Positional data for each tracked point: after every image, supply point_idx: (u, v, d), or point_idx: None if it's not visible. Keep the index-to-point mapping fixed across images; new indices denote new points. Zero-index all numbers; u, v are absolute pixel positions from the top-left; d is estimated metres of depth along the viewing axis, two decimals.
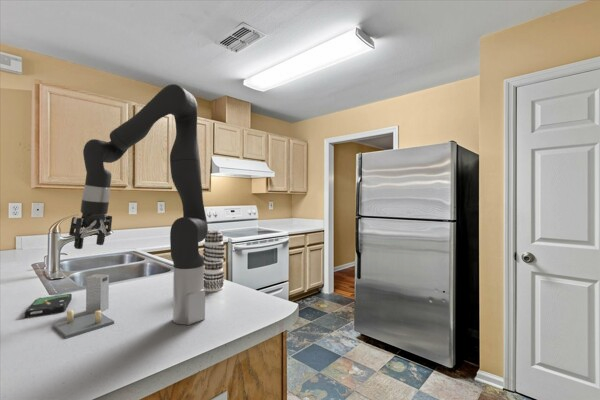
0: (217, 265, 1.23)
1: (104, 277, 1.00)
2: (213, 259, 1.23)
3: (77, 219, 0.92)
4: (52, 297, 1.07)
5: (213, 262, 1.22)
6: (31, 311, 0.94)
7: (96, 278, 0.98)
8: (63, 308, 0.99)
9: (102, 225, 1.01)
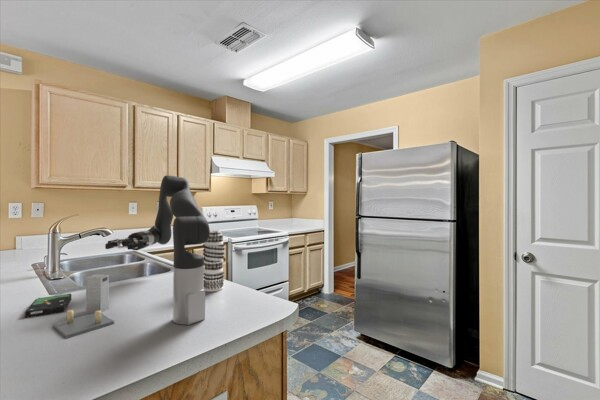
0: (217, 265, 1.23)
1: (104, 277, 1.00)
2: (213, 259, 1.23)
3: None
4: (52, 297, 1.07)
5: (213, 262, 1.22)
6: (31, 311, 0.94)
7: (96, 278, 0.98)
8: (63, 308, 0.99)
9: (134, 239, 1.18)
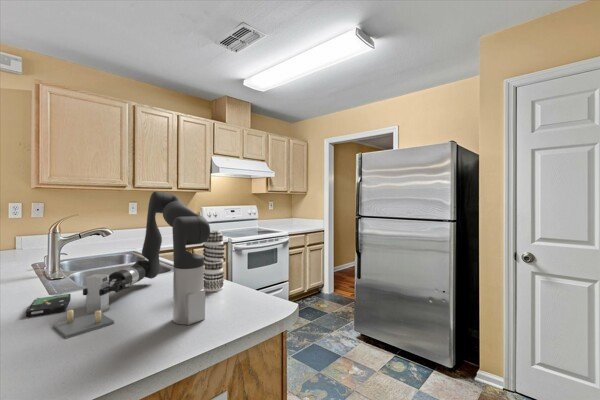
0: (217, 265, 1.23)
1: (104, 277, 1.00)
2: (213, 259, 1.23)
3: None
4: (51, 297, 1.07)
5: (213, 262, 1.22)
6: (32, 311, 0.94)
7: (96, 278, 0.98)
8: (64, 308, 0.99)
9: (113, 281, 1.05)
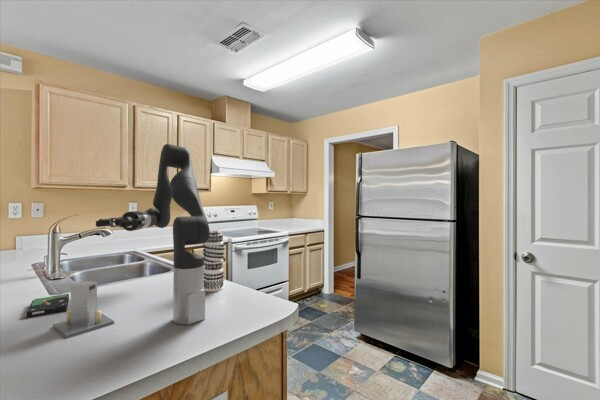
0: (217, 265, 1.23)
1: (91, 285, 0.89)
2: (213, 259, 1.23)
3: None
4: (50, 298, 1.06)
5: (213, 262, 1.22)
6: (33, 311, 0.94)
7: (82, 286, 0.87)
8: (65, 308, 0.99)
9: (129, 217, 1.07)
